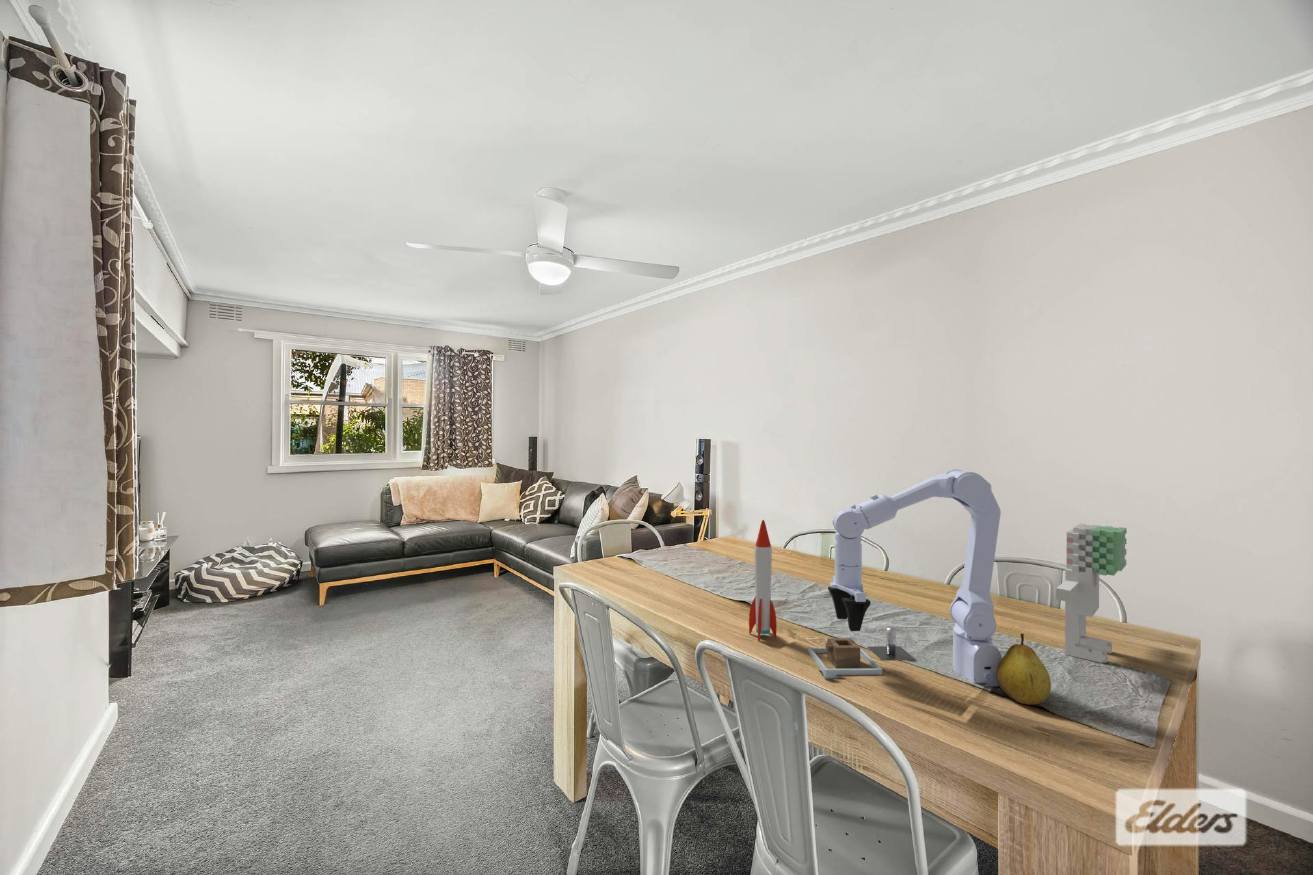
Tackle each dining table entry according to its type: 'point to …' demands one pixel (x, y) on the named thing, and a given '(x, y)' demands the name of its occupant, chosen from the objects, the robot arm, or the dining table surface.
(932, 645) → the dining table surface
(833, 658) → the collar
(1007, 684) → the fruit
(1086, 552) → the toy
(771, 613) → the toy rocket
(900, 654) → the post
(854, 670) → the grey rectangular frame
